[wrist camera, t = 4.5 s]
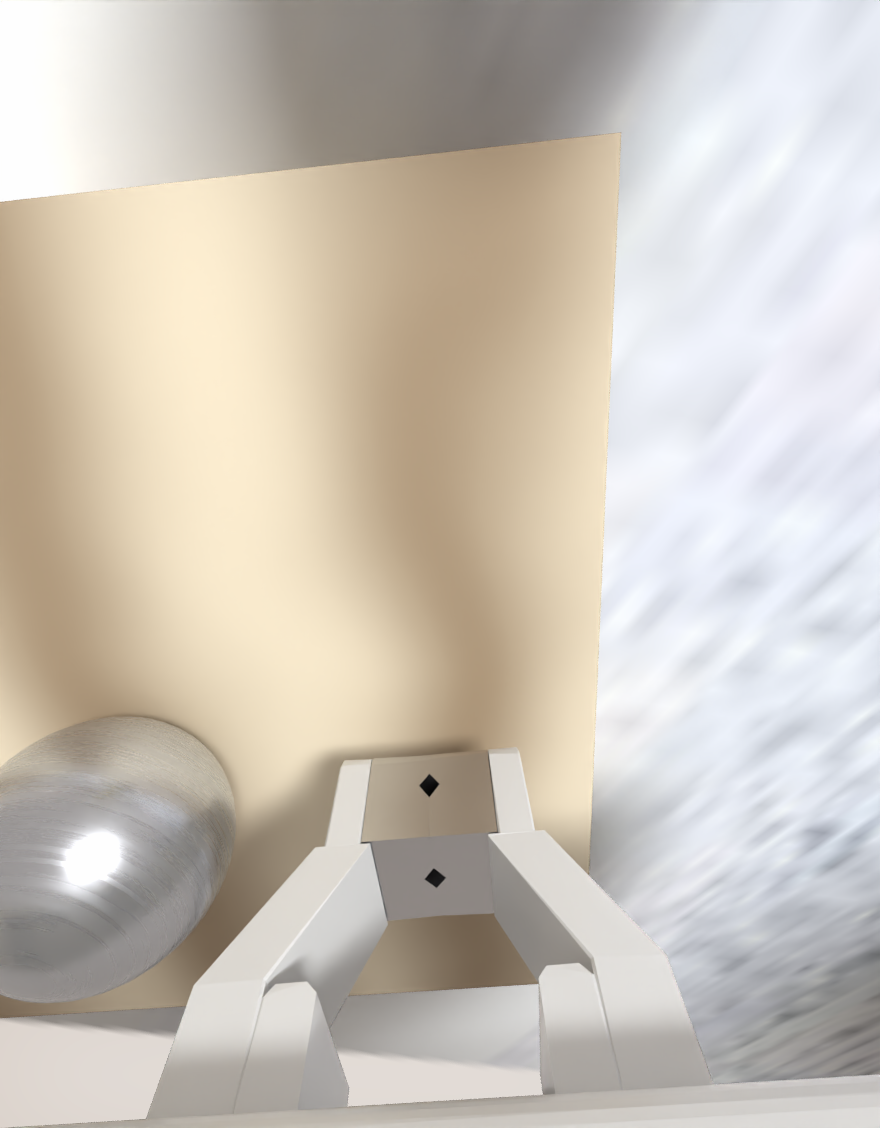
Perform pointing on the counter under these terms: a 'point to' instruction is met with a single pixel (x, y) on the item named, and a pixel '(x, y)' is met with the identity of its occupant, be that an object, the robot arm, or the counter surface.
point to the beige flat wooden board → (315, 496)
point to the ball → (106, 854)
